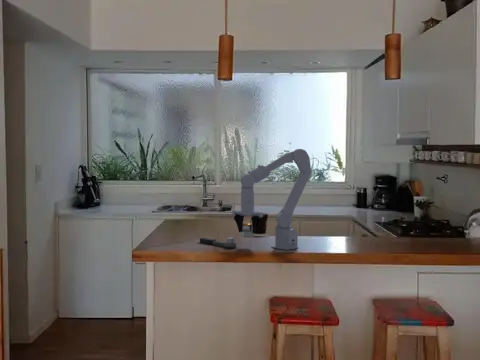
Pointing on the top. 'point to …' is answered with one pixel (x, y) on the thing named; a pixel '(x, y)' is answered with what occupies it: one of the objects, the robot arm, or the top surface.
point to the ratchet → (229, 244)
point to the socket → (247, 230)
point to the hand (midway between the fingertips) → (247, 232)
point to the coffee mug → (262, 224)
